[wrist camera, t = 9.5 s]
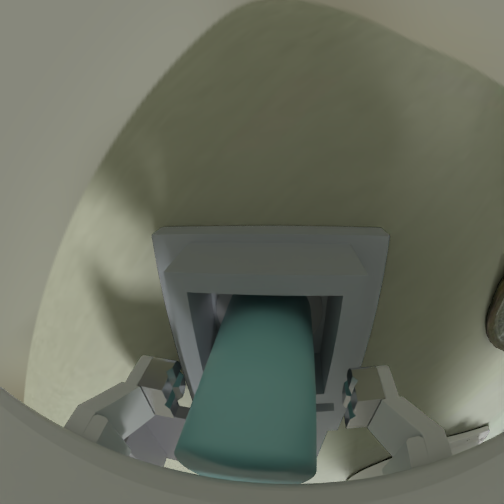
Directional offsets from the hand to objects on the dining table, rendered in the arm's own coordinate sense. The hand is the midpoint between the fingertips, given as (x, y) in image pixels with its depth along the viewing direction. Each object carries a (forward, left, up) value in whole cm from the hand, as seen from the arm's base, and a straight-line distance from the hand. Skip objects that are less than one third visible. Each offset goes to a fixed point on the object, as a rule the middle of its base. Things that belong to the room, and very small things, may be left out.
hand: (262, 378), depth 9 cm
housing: (0, +4, -6) cm, 7 cm away
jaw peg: (0, 0, -4) cm, 4 cm away
